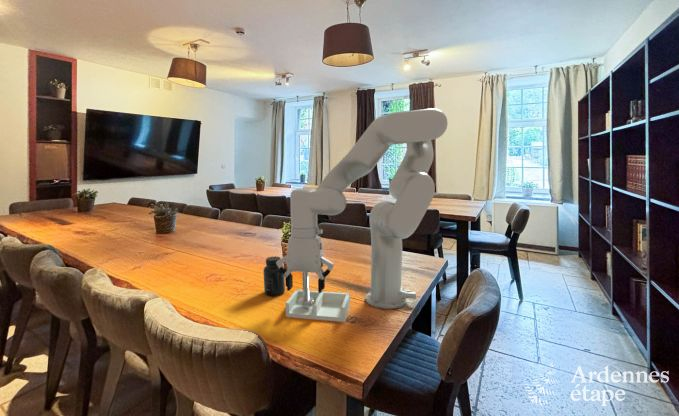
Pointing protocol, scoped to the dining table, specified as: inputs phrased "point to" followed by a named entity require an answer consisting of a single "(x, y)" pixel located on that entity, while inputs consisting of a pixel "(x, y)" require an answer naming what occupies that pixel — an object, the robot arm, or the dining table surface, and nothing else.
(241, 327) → the dining table surface
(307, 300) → the screw
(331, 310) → the rack
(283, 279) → the supplement bottle
